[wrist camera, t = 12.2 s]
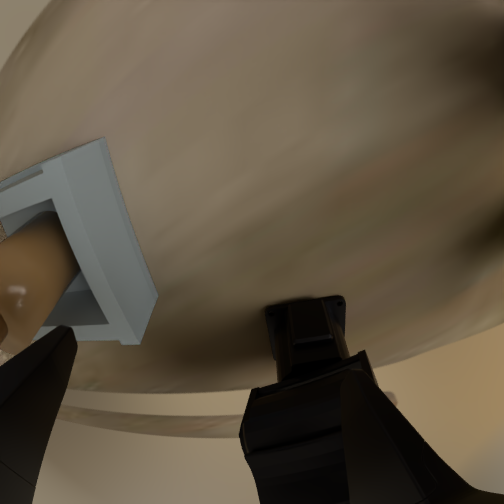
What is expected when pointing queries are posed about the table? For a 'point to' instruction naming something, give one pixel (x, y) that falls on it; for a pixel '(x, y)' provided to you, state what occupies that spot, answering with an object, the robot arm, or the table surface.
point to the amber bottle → (33, 278)
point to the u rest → (87, 243)
